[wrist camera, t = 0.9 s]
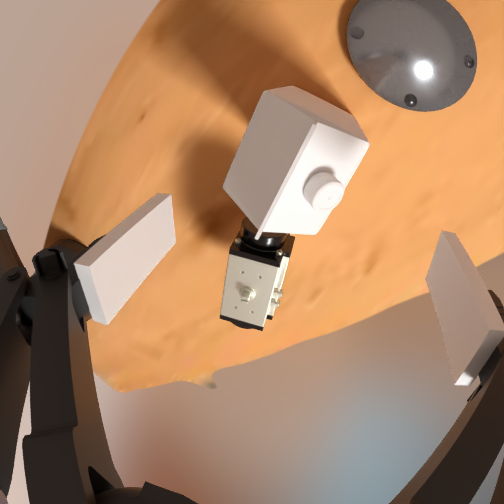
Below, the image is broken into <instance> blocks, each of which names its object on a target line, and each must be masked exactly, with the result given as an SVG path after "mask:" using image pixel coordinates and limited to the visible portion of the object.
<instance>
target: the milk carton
mask: <svg viewBox="0 0 504 504" xmlns="http://www.w3.org/2000/svg"><path fill="white" fill-rule="evenodd" d="M369 144H370V143H369V141H368V139H367V137H366V136H365V134H364V132H363V130H362V129H361V127H360V125H359V124H358V122H357V120H356V118H355V117H354V116H353V115H351V114H349V113H347V112H346V111H344V110H342V109H340V108H338V107H336V106H334V105H332V104H330V103H329V102H327V101H325V100H323V99H321V98H319V97H317V96H315V95H313V94H310V93H308V92H306V91H304V90H302V89H300V88H298V87H296V86H287V87H281V88H275V89H270V90H264V92H263V94H262V95H261V98H260V100H259V102H258V104H257V106H256V109H255V111H254V113H253V115H252V118H251V120H250V122H249V124H248V127H247V129H246V131H245V134H244V136H243V138H242V140H241V143H240V145H239V147H238V150H237V152H236V155H235V157H234V159H233V162H232V164H231V166H230V169H229V171H228V174H227V176H226V178H225V181H224V184H223V187H222V188H223V189H224V190H225V191H226V193H227V194H228V195H229V196H230V197H231V198H232V200H233V201H234V202H235V203H236V204H237V205H238V207H239V208H240V209H241V210H242V211H243V212H244V214H245V215H246V216H247V217H248V218H249V219H250V221H251V222H252V223H253V224H254V225H255V226H256V228H257V229H258V232H257V234H256V236H255V239H257V240H258V239H259V237H260V235H261V234H262V232H276V233H293V234H309V235H315V234H317V233H318V231H319V230H320V228H321V227H322V225H323V224H324V222H325V220H326V219H327V217H328V216H329V214H330V212H331V211H332V209H333V208H335V207H336V206H337V205H338V203H339V202H340V201H341V199H342V197H343V194H344V189H345V187H346V186H347V184H348V182H349V181H350V179H351V177H352V176H353V174H354V172H355V171H356V169H357V167H358V165H359V164H360V162H361V160H362V158H363V157H364V155H365V153H366V151H367V149H368V147H369Z"/></svg>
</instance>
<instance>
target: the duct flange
mask: <svg viewBox="0 0 504 504" xmlns="http://www.w3.org/2000/svg"><path fill="white" fill-rule="evenodd" d="M346 35H347V47H348V52H349V55H350V58H351V61H352V63H353V66H354V67H355V69H356V71H357V73H358V74H359V76H360V77H361V78H362V80H363V81H364V82H365V83H366V84H367V85H368V87H369V88H371V89H372V90H373V91H374V92H375V93H376V94H378V95H379V96H380V97H382V98H383V99H385V100H387V101H388V102H390V103H392V104H395V105H397V106H399V107H402V108H405V109H409V110H414V111H424V112H427V111H436V110H440V109H444V108H446V107H449V106H451V105H452V104H454V103H456V102H457V101H458V100H459V99H461V98H462V97H463V96H464V94H465V93H466V92H467V91H468V89H469V88H470V86H471V84H472V82H473V80H474V76H475V73H476V67H477V53H476V46H475V42H474V39H473V36H472V33H471V31H470V29H469V27H468V25H467V23H466V22H465V20H464V19H463V17H462V16H461V15H460V14H459V12H458V11H457V10H456V9H455V8H454V7H453V6H452V5H451V4H450V3H449V2H447V1H446V0H359V1H358V3H357V4H356V6H355V7H354V9H353V11H352V13H351V15H350V18H349V22H348V25H347V33H346Z"/></svg>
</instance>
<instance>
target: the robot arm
mask: <svg viewBox="0 0 504 504" xmlns="http://www.w3.org/2000/svg"><path fill="white" fill-rule="evenodd" d="M175 243H176V239H175V229H174V219H173V208H172V197H171V194H162V193H158V194H156V195H155V196H154V197H152V198H151V199H150V200H148V201H147V202H146V203H145V204H143V205H142V206H141V207H140V208H138V209H137V210H136V211H135V212H133V213H132V214H131V215H130V216H128V217H127V218H126V219H125V220H123V221H122V222H121V223H120V224H118V225H117V226H116V227H115V228H114V229H112V230H111V231H110V232H109V233H108V234H107V235H104V236H102V237H100V238H98V239H96V240H95V241H93V242H92V243H91V244H90V245H89V247H84V246H83V245H81V244H80V243H78V242H76V241H73V240H69V239H62V240H59V241H57V242H56V243H55V244H53V245H52V246H51V247H50V248H46V249H43V250H41V251H40V252H38V253H37V254H36V255H35V256H34V257H33V259H32V262H33V265H34V268H35V270H36V271H35V273H34V274H33V275H32V276H31V277H29V275H28V273H27V270H26V268H25V267H24V266H23V264H22V262H21V260H20V258H19V256H18V254H17V252H16V250H15V248H14V245H13V243H12V241H11V239H10V236H9V234H8V232H7V227H6V226H4V224H3V222H2V220H1V218H0V504H8V502H7V499H6V498H7V495H8V492H9V488H10V484H11V480H12V474H13V467H14V460H15V452H16V446H17V439H18V433H19V427H20V422H21V417H22V412H23V407H24V403H25V398H26V394H27V390H28V385H29V381H30V406H31V407H30V408H31V427H32V429H31V434H30V435H25V436H24V438H23V443H22V449H23V459H24V469H25V476H26V484H27V490H28V496H29V502H30V504H197V503H196V502H194V501H192V500H191V499H189V498H187V497H185V496H184V495H181V494H178V493H175V492H173V491H170V490H167V489H164V488H161V487H158V486H156V485H153V484H151V483H148V482H145V483H144V486H143V488H139V487H124V485H123V483H122V481H121V479H120V477H119V475H118V473H117V471H116V470H115V467H114V465H113V462H112V458H111V454H110V451H109V447H108V443H107V439H106V435H105V431H104V427H103V422H102V418H101V413H100V408H99V403H98V399H97V393H96V387H95V382H94V376H93V370H92V363H91V356H90V349H89V341H88V332H87V323H86V321H88V320H89V319H91V318H92V319H93V321H96V322H99V323H102V324H105V325H108V324H109V323H110V322H111V321H112V319H113V318H114V317H115V315H116V314H117V313H118V312H119V310H120V309H121V308H122V307H123V305H124V304H125V303H126V302H127V300H128V299H129V298H130V297H131V295H132V294H133V293H134V292H135V291H136V289H137V288H138V287H139V286H140V284H141V283H142V282H143V281H144V280H145V278H146V277H147V276H148V275H149V274H150V272H151V271H152V270H153V269H154V268H155V266H156V265H157V264H158V263H159V262H160V260H161V259H162V258H163V257H164V256H165V255H166V253H167V252H168V251H169V250H170V249H171V248H172V246H173V245H174V244H175ZM426 282H427V285H428V288H429V291H430V294H431V297H432V300H433V304H434V307H435V310H436V314H437V317H438V320H439V324H440V328H441V331H442V335H443V339H444V343H445V347H446V351H447V355H448V359H449V363H450V368H451V372H452V377H453V382H454V385H471V384H472V383H473V381H474V380H475V379H476V377H477V376H478V374H479V377H480V382H481V383H480V385H479V386H478V387H477V388H476V390H475V391H474V392H473V393H472V395H471V396H470V397H469V399H468V400H467V401H468V403H467V405H466V406H465V408H464V410H463V411H462V413H461V414H460V416H459V417H458V419H457V420H456V422H455V423H454V425H453V426H452V428H451V429H450V431H449V432H448V434H447V435H446V436H445V438H444V439H443V440H442V442H441V443H440V444H439V446H438V447H437V448H436V450H435V451H434V452H433V454H432V455H431V456H430V457H429V459H428V460H427V461H426V463H425V464H424V465H423V466H422V467H421V469H420V470H419V471H418V472H417V473H416V475H415V476H414V477H413V478H412V479H411V481H410V482H409V483H408V484H407V485H406V486H405V487H404V489H402V491H401V492H400V493H399V494H398V495H397V496H396V497H395V498H394V499H393V500H392V501H391V502H390V503H389V504H469V503H470V501H471V500H472V498H473V497H474V495H475V494H476V492H477V491H478V489H479V487H480V486H481V484H482V482H483V480H484V479H485V477H486V476H487V474H488V472H489V470H490V468H491V467H492V465H493V463H494V461H495V459H496V457H497V455H498V453H499V451H500V449H501V448H502V445H503V443H504V309H503V308H504V307H503V305H502V303H501V301H500V299H499V298H498V297H497V296H496V294H495V293H494V292H493V291H492V290H487V288H486V286H485V284H484V282H483V280H482V278H481V277H480V275H479V273H478V271H477V269H476V268H475V266H474V264H473V262H472V260H471V259H470V257H469V255H468V254H467V252H466V250H465V248H464V247H463V245H462V243H461V242H460V240H459V239H458V237H457V235H456V234H455V233H452V232H447V231H441V234H440V237H439V241H438V244H437V247H436V250H435V253H434V256H433V259H432V262H431V265H430V268H429V271H428V274H427V276H426ZM490 504H504V459H503V463H502V467H501V471H500V474H499V478H498V481H497V484H496V487H495V490H494V493H493V496H492V499H491V502H490Z"/></svg>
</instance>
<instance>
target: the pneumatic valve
mask: <svg viewBox="0 0 504 504" xmlns="http://www.w3.org/2000/svg"><path fill="white" fill-rule="evenodd" d="M257 232H258V229H257V228H256V226H255V225H254V224H253V223H252V222H251V221H250V219H249V218H248V217H246V218H244V219H243V221H242V225H241V230H240V231H239V233H238V235H237V236H236V238H235V240H234V242H233V243H232V245H231V247H230V250H229V257H228V264H227V270H226V277H225V284H224V291H223V297H222V304H221V311H220V319H223V320H227V321H230V322H232V323H233V324H234V325H236V326H238V327H241V328H245V329H252V328H253V329H257V330H260V331H263V328H264V324H265V321H266V319H270V320H272V318H273V314H274V311H275V307H276V308H278V306H279V303H280V300H278V297H280V298H281V296H282V293H283V290H282V289H281V287H282V283H283V280H284V276H285V273H286V269H287V266H288V262H289V258H290V255H291V251H292V247H293V243H294V240H295V237H294V236H290V233H276V232H262V234H261V235H260V237H259V239H258V240H257V239H255V236H256V234H257Z"/></svg>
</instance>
